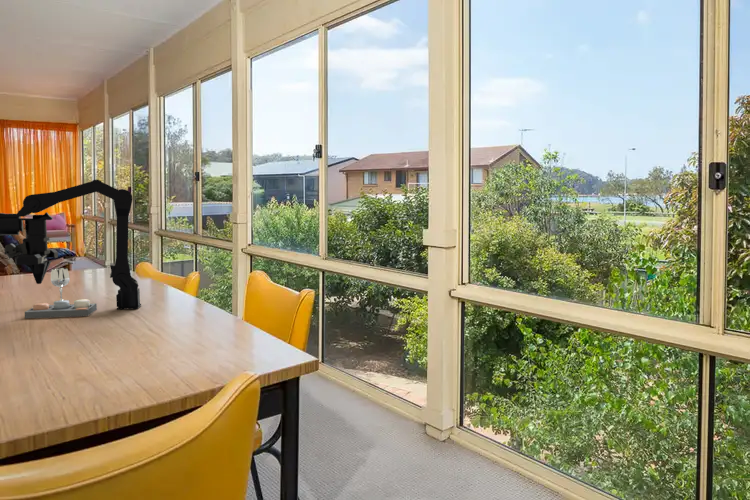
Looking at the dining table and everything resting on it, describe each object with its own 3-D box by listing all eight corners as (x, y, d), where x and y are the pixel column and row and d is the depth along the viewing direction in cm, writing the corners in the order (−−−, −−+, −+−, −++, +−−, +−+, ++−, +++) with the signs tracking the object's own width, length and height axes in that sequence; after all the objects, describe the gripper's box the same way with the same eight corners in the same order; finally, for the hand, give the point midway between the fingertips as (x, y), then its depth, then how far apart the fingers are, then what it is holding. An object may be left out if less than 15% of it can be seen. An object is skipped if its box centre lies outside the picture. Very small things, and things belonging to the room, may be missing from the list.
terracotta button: (51, 310, 183) (50, 302, 182) (46, 313, 178) (46, 305, 178) (36, 311, 182) (35, 303, 181) (31, 314, 177) (30, 306, 177)
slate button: (71, 307, 184) (71, 299, 183) (67, 310, 179) (66, 302, 179) (56, 308, 183) (56, 300, 183) (51, 311, 179) (51, 303, 178)
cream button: (91, 307, 185) (91, 299, 185) (87, 309, 181) (87, 301, 180) (76, 307, 184) (76, 299, 184) (72, 310, 180) (72, 302, 180)
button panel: (96, 309, 188) (96, 302, 188) (87, 316, 178) (87, 308, 178) (37, 311, 184) (36, 304, 184) (24, 318, 175) (24, 311, 174)
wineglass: (56, 305, 195) (54, 270, 193) (49, 303, 198) (47, 269, 197) (73, 302, 199) (72, 268, 198) (66, 300, 203) (64, 267, 201)
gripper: (19, 232, 185) (22, 279, 186) (-6, 237, 167) (-3, 289, 168) (57, 232, 187) (59, 279, 189) (35, 236, 169) (38, 288, 171)
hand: (39, 283), depth 179 cm, fingers closed
